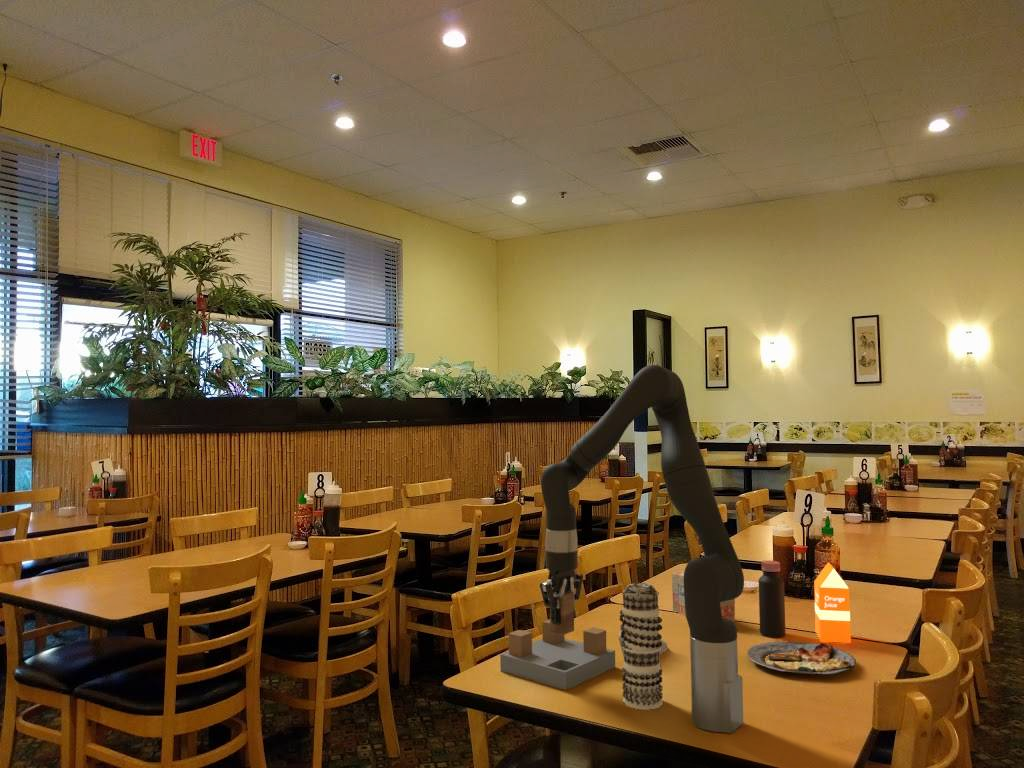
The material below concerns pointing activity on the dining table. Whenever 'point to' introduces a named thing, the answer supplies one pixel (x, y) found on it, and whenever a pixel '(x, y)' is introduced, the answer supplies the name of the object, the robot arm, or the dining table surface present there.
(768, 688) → the dining table surface
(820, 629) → the orange juice
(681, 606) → the printed cardboard box
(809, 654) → the food plate
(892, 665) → the dining table surface
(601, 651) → the stool seat
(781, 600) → the bottle
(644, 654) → the decorative candle
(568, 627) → the stool leg
